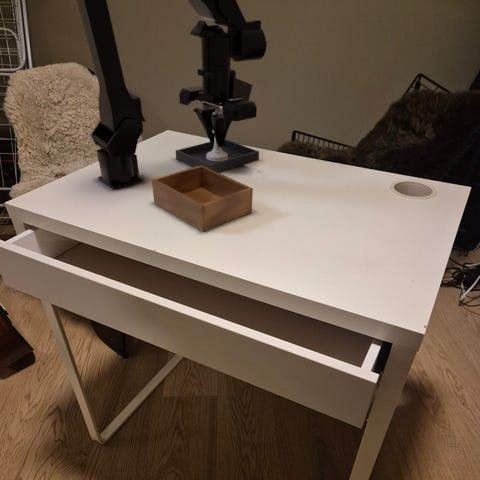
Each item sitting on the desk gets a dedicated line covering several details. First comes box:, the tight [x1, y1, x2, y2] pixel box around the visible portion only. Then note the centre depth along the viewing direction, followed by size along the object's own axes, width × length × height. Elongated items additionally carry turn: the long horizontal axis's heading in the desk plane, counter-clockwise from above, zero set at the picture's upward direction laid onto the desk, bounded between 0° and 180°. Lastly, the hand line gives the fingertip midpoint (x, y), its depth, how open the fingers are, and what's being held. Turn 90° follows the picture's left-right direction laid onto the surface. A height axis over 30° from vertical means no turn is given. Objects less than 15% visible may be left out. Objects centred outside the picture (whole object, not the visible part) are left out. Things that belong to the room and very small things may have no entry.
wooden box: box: [151, 165, 254, 232], centre depth 73 cm, size 11×14×4 cm
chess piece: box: [206, 109, 228, 161], centre depth 90 cm, size 5×5×10 cm
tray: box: [175, 138, 260, 173], centre depth 93 cm, size 14×12×2 cm
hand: (216, 145), depth 92 cm, fingers closed on chess piece, 2 cm apart
